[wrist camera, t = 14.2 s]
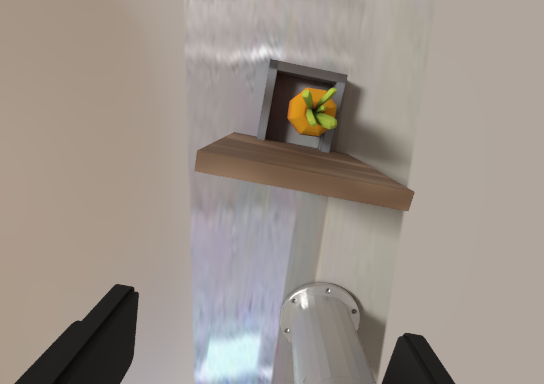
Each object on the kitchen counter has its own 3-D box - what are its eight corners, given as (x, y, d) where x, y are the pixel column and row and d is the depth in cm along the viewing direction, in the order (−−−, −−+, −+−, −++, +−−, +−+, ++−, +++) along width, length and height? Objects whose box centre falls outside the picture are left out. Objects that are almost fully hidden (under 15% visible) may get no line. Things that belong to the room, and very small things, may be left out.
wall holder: (345, 165, 41) (408, 211, 22) (232, 143, 41) (194, 171, 21) (366, 82, 39) (460, 53, 19) (245, 58, 38) (215, 1, 19)
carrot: (277, 98, 39) (286, 90, 24) (314, 88, 39) (345, 74, 24) (287, 135, 40) (300, 148, 26) (322, 126, 40) (356, 133, 26)
